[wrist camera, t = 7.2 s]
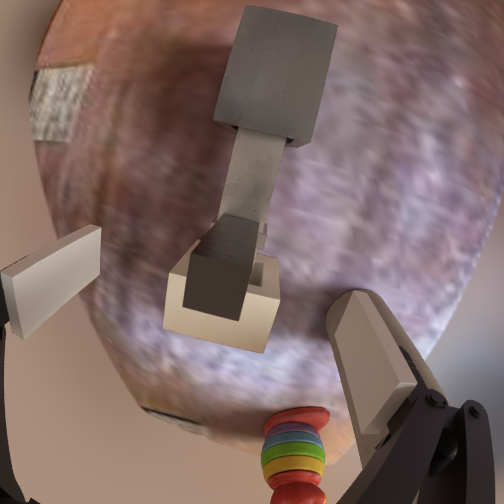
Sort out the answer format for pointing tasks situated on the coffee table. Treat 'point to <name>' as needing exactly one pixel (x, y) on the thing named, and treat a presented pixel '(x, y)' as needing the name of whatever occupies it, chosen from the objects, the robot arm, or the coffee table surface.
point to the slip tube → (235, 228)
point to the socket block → (221, 329)
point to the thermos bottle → (333, 318)
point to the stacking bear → (295, 455)
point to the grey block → (276, 74)
